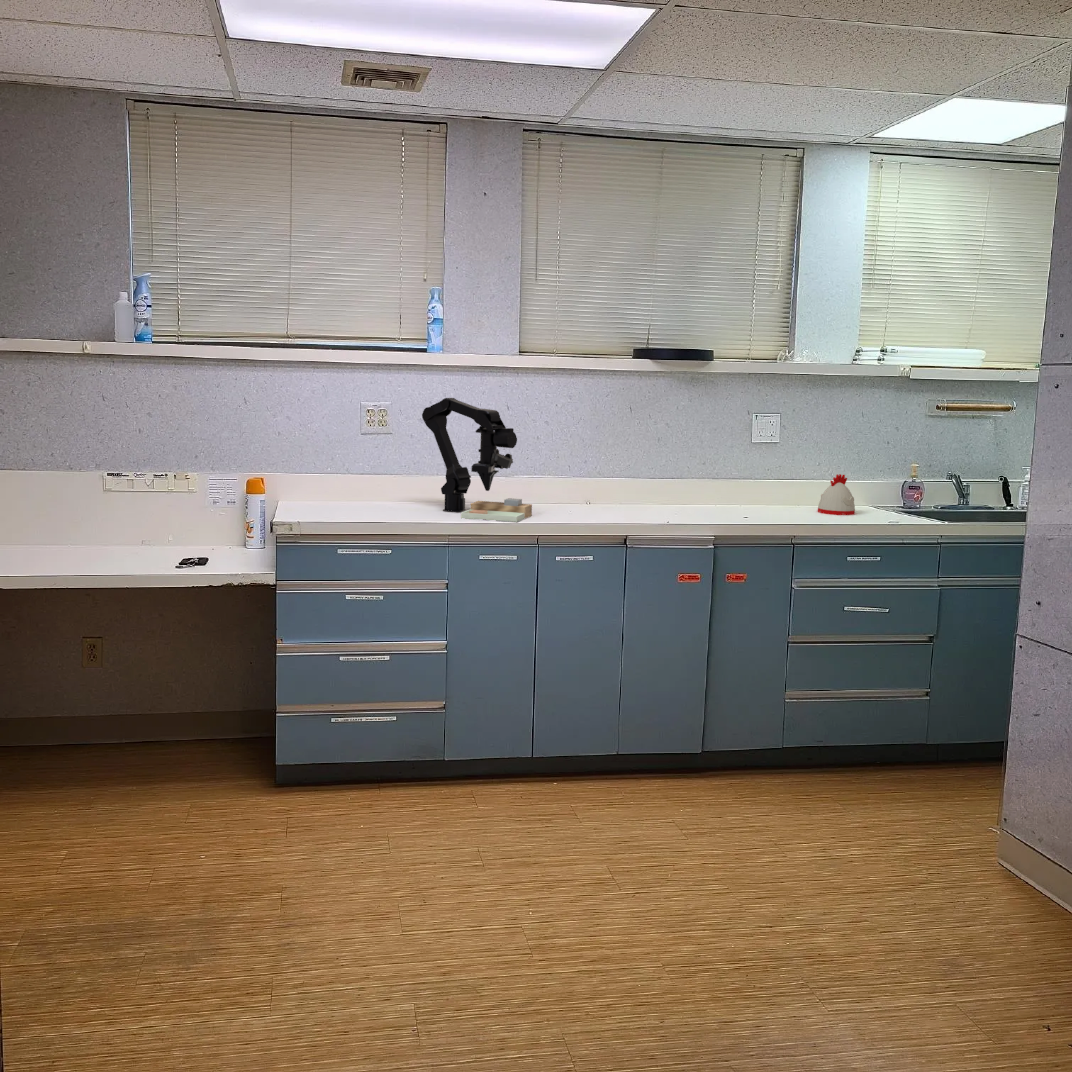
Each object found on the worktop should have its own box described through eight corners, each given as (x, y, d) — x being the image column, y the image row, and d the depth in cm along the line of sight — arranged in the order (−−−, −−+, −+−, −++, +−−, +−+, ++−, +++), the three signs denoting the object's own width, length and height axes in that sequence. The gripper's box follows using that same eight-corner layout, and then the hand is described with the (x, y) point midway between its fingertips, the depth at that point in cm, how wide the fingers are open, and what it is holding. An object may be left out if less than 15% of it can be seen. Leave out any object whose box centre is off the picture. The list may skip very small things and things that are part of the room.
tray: (461, 518, 370) (461, 512, 369) (470, 514, 379) (470, 509, 378) (516, 522, 364) (516, 516, 364) (524, 518, 373) (524, 513, 373)
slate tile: (504, 505, 376) (504, 499, 376) (508, 503, 381) (508, 498, 381) (517, 506, 375) (517, 500, 375) (521, 504, 380) (521, 499, 379)
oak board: (470, 514, 379) (470, 503, 378) (478, 511, 387) (478, 500, 387) (524, 518, 374) (525, 507, 373) (531, 515, 382) (531, 504, 381)
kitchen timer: (862, 514, 414) (865, 475, 412) (836, 516, 407) (839, 476, 405) (835, 509, 426) (838, 472, 424) (810, 511, 419) (812, 473, 417)
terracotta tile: (474, 509, 375) (473, 515, 375) (469, 511, 370) (469, 517, 370) (487, 510, 374) (487, 516, 374) (483, 512, 369) (483, 518, 369)
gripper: (502, 449, 364) (501, 494, 367) (518, 445, 382) (517, 489, 384) (471, 447, 367) (470, 493, 370) (488, 444, 385) (487, 487, 387)
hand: (487, 490), depth 378 cm, fingers closed
